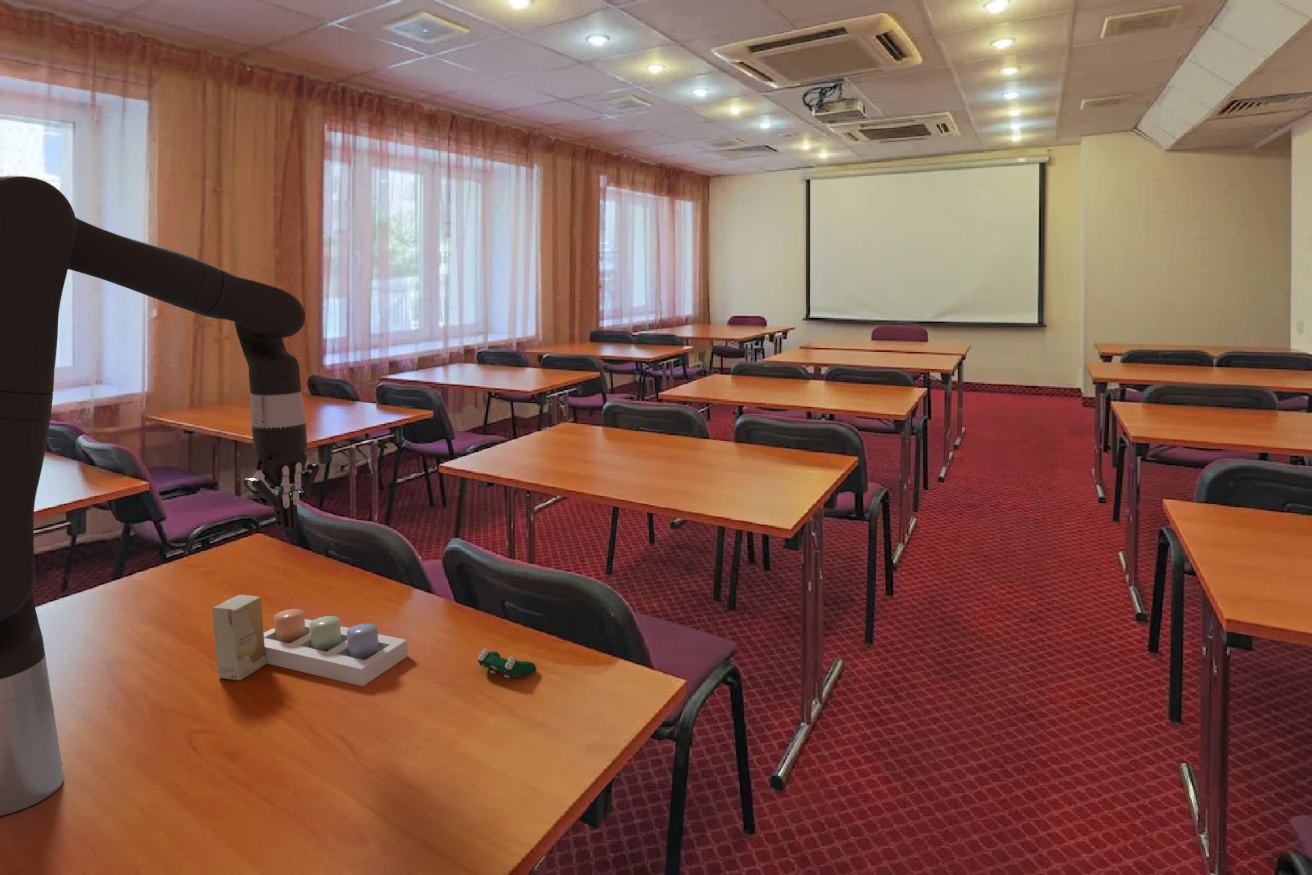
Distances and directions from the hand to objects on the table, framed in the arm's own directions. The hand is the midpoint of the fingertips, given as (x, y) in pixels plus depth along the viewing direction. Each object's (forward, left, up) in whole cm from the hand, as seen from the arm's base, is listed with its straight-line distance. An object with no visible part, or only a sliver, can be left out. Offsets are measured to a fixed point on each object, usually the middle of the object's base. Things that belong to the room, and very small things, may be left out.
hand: (287, 528), depth 119 cm
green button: (+6, 0, -23) cm, 23 cm away
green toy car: (+13, -31, -25) cm, 42 cm away
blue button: (+6, -8, -23) cm, 25 cm away
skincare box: (-3, +9, -25) cm, 27 cm away
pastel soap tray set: (+6, 0, -25) cm, 26 cm away
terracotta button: (+6, +8, -23) cm, 25 cm away
